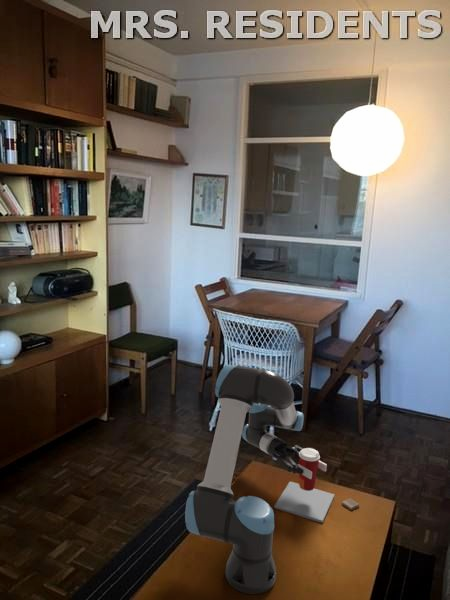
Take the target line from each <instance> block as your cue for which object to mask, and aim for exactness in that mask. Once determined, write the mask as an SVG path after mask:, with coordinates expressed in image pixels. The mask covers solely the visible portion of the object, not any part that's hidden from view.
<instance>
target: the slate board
mask: <svg viewBox="0 0 450 600" xmlns="http://www.w3.org/2000/svg"><path fill="white" fill-rule="evenodd" d="M334 499H335V494H334V493H331V492H328V491H325V490H321V489H317V488H314V489H313V490H311V491H306V490H303V489H301V488H300V486H299V483H297V482H293V481H291V480H290V481H289V482H288V484H287V485H286V487H285V489H284V490H283V492H282V493H281V495H280V496H279V498H278V500H277V501H276V503H274V506H273V507H274V509H277V510H280V511H282V512H286V513H288V514H289V513H290V514H292V515H296V516H299V517H302V518H304V519H308V520H311V521H315V522H317V523H321V524H323V523H324V521H325V519H326V516H327V514H328V511H329V510H330V507H331V505H332V503H333V501H334Z"/></svg>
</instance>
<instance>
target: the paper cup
mask: <svg viewBox="0 0 450 600" xmlns="http://www.w3.org/2000/svg"><path fill="white" fill-rule="evenodd" d="M299 456H300V459H299V464H300V465H301V466H303V467H305V468H307V469H308V470H310V471H312V479H309V478H307V477H306V476H304V475H302V474H300V473H299V476H298V477H299V478H298V479H299V480H298V481H299V483H298V484H299V486H300V488H301V489H303V490H306V491H311V490H313V489H315V484H316V479H317V473H318V469H319V468H318V462H319V460H320V458H321V456H320V453H319V451H318V450H316V449H315V448H313V447H306V448H305V447H304V448H303V449H302V450H301V451H300V452H299Z"/></svg>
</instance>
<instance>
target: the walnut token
mask: <svg viewBox="0 0 450 600" xmlns="http://www.w3.org/2000/svg"><path fill="white" fill-rule="evenodd" d="M341 505H343V506H344V507H345V508H347V510H349V511H353V510H355V509H358V508H359V507H360V503H358V502H357V501H355V500H353V499H352V498H351V497H349V498H347V499H345V500H343V501H341Z"/></svg>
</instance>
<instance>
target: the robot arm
mask: <svg viewBox="0 0 450 600" xmlns="http://www.w3.org/2000/svg"><path fill="white" fill-rule="evenodd" d="M214 391H215V393H214V394H215V396H216V397H217V398H218V400H217V403H218V404H219V406H220V411H219V415H218V418H217V419H218V420H217V422H216V427H215V430H214V431H215V432H214V436H213V441H212V445H211V448H210V453H209V457H208V460H207V465H206V468H205V474H204V478H203V480H202V481H201V482H200V483H199V484H197V485H196V486H197V487H196V489H195V490H191V492H190V493H189V494H188V497H187V499H186V504H185V512H184V513H185V514H184V519H185V526H186V528H187V531H188V532H189V533H191V534H194V535H197V536H199V537H202V538H203V537H205V538H207V539H208V538H209V539H212V540H215V541H220V542H223V543H227V544H231V545H232V550H231V553H229V554H230V555H229V557H228V559H227V562H226V564H225V577H226V581H227V582H228V584H229V585H230V586H231V587H232V588H233V589H235V590H236V591H239V592H241V593H243V594H247V595H260V594H264V593H265V592H267V591H269V590H271V588H272V587H274V585H275V583H276V578H277V568H276V565H275V560H274V558H273V552H272V551H273V541H274V539H273V538H274V530H275V514H274V513H275V512H274V510H273V508H272V507H271V506H270V504H269V503H268V502H267V501H265V500H264V499H263V498H260V497H258V496H254V495H247V496H245V495H244V496H241V497H239V498H238V499H237V500H234V495H235V494H234V492H233V490H232V489H231V488H232V487H231V486H232V481H233V475H234V472H235V467H236V463H237V458H238V453H239V449H240V444H241V439H242V438H243V440H245V441H246V442H247V443H248V444H249V445H252V446H254V447H256V448H258V449H259V450H261V451H262V452H264V453H266V454H268V455H269V456H271V457H272V462H274V463H276V464H278V465H279V466H280V467H282V468H283V469H284V470H286V471H287V472H288V473H291V472H292V474H296V473H300V474H302V475H304V476H306V477H307V478H309V479H312V471H310V470H308V469H307V468H305V467H303V466H301V465H300V463H298V464H297V463H296V462H295V461H294V460H296V459H298V460H300V456H299V452H300V451H301V450H302V449H304V448H303V447H301V446H299V445H298V444H295V445H294V446H290V445H288V444H287V442H286V441H285V440H283V439H281V438H279V437H277V436H276V435H274V434H272V433H270V432H269V431H267V427H268V426H269V427H274V428H276V427H277V428H280V429H284V430H285V429H286V430H291V431H297V432H300V431H302V430H303V426H304V418H305V415H304V413H303V412H301V411H298V410H296V407H295V403H294V399H295V393H294V390H293V387H292V385H290V383H289V382H288V381H287V380H286V379H285V378H283V376H281V375H280V374H278V373H276V372H274V371H272V370H269V369H261V368H256V367H250V366H249V367H248V366H243V365H238V364H236V365H235V364H227V365H225V366H224V367H223V368H222V369H221V371H220V372H219V374H218V376H217V379H216V382H215V388H214ZM247 413H248V423H247V424H245V420H246V416H247ZM293 459H294V460H293ZM327 466H328V464H327V463H325V462H323V461H321V460H320V459H319V462H318V468H317V469H319V470H321V471H323V472H326V471H327Z"/></svg>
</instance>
